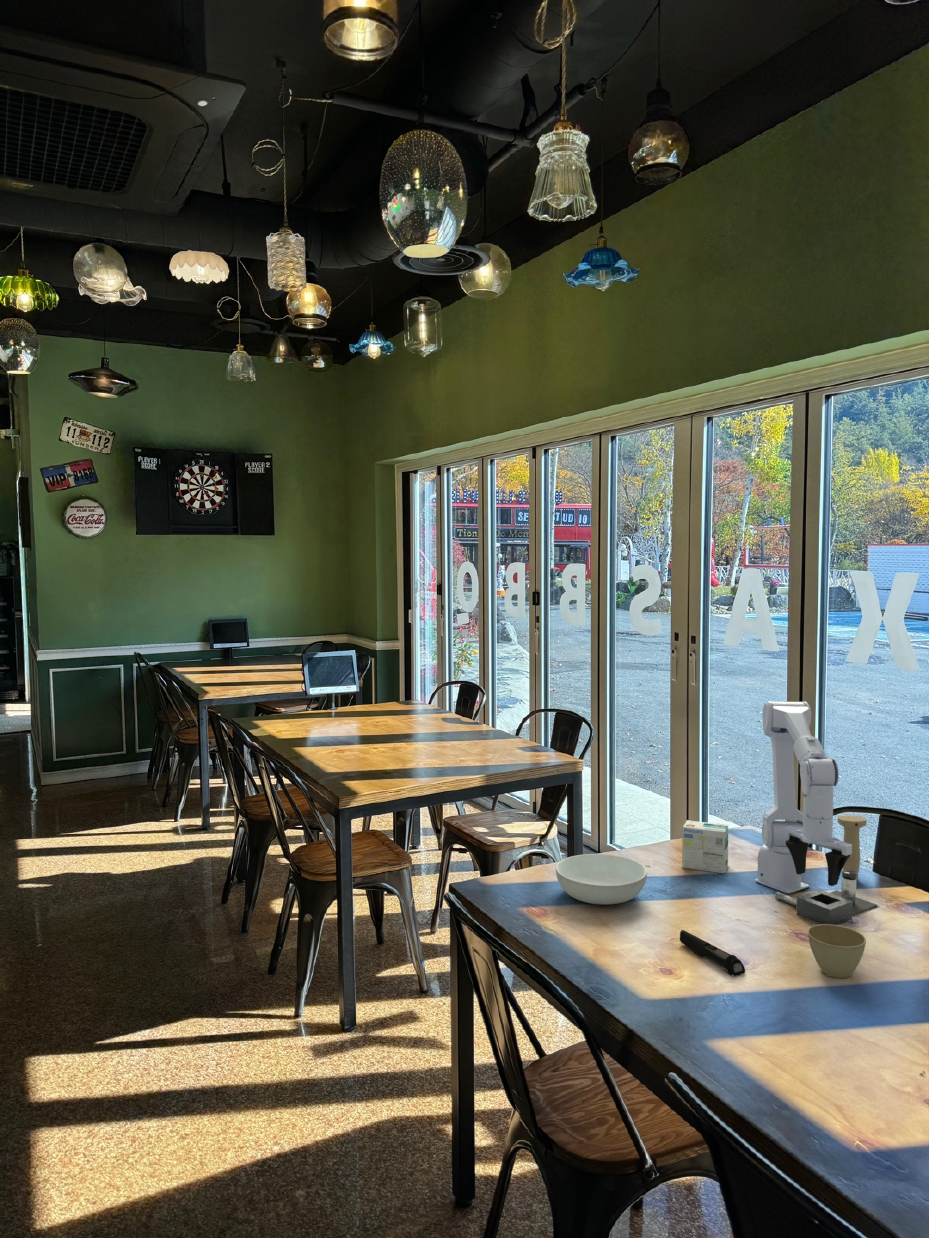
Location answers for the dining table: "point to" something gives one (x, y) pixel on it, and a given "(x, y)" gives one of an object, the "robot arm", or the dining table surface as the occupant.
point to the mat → (858, 904)
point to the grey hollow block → (821, 907)
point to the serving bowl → (601, 878)
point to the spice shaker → (849, 885)
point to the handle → (852, 839)
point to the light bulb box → (705, 846)
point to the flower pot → (836, 949)
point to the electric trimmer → (712, 953)
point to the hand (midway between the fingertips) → (816, 878)
